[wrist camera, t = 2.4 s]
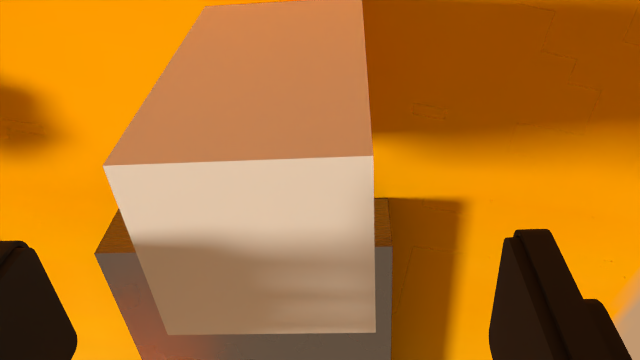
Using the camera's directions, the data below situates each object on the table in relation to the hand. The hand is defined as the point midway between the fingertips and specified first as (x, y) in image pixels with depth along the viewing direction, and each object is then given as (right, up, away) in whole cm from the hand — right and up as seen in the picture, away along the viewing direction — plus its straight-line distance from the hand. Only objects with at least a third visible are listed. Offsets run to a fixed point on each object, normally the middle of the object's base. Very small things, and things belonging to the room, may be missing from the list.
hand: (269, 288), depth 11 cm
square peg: (0, +5, +6) cm, 8 cm away
